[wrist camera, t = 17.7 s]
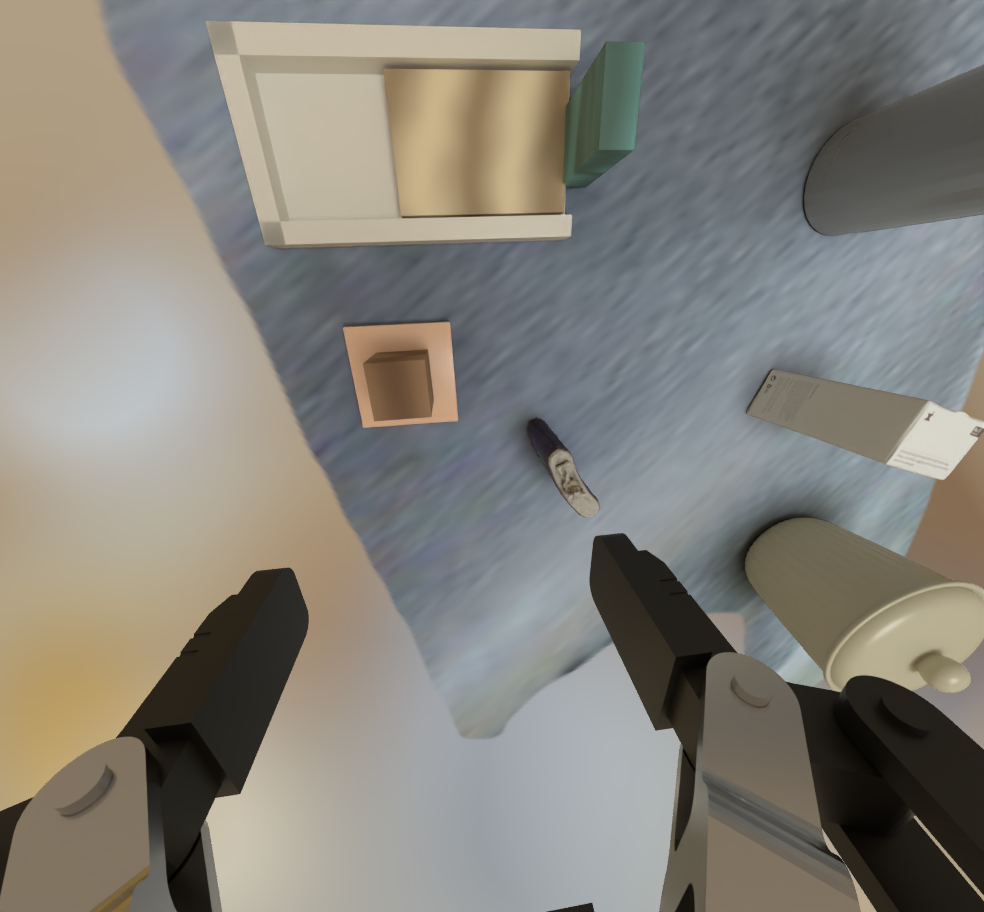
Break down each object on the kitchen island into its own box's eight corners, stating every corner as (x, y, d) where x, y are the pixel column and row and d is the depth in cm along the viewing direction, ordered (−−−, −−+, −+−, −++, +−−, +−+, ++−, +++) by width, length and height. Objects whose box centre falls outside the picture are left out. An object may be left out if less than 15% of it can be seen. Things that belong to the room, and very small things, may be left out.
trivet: (449, 321, 35) (449, 322, 34) (457, 417, 39) (458, 420, 38) (346, 326, 34) (342, 327, 33) (365, 423, 38) (363, 427, 37)
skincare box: (743, 413, 43) (878, 467, 30) (772, 364, 41) (931, 399, 27) (796, 428, 45) (945, 486, 31) (826, 383, 43) (1000, 423, 29)
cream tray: (570, 50, 28) (580, 29, 25) (562, 240, 33) (570, 236, 31) (225, 44, 25) (205, 20, 23) (278, 248, 31) (265, 245, 29)
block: (428, 349, 35) (424, 359, 29) (433, 399, 37) (431, 417, 31) (376, 352, 34) (362, 363, 29) (385, 402, 36) (374, 421, 31)
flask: (576, 471, 44) (612, 521, 34) (555, 483, 44) (585, 536, 35) (541, 412, 40) (570, 450, 30) (519, 426, 40) (541, 467, 31)
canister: (771, 484, 48) (982, 607, 29) (862, 512, 52) (1098, 637, 33) (700, 582, 55) (834, 735, 36) (786, 600, 59) (947, 746, 40)
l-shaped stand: (592, 80, 28) (650, -7, 20) (583, 214, 32) (630, 187, 24) (385, 77, 27) (358, -17, 19) (402, 218, 31) (386, 191, 22)
